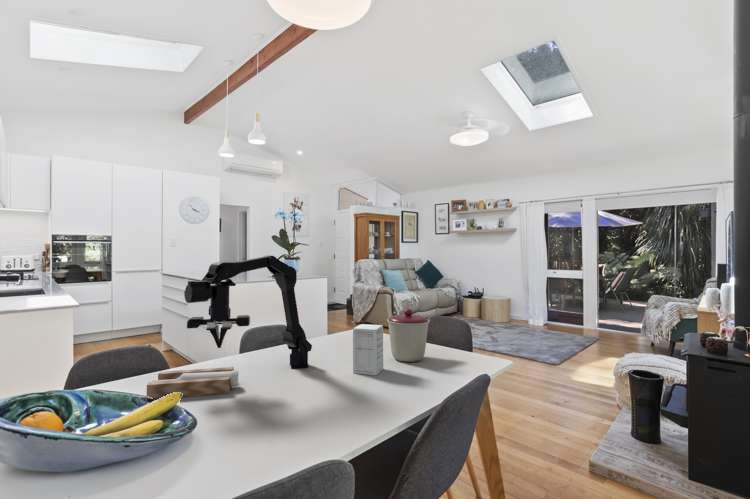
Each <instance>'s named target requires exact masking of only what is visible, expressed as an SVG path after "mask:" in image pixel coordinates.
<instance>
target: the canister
mask: <svg viewBox="0 0 750 499" xmlns="http://www.w3.org/2000/svg"><path fill="white" fill-rule="evenodd" d="M403 313H404V314H403ZM403 313H402V314H393V315H392V316H390V317H389V318H387V319H386V322H388V331H389V341H390V350H391V354H392V357H393V358H394V360H396V361H398V362H404V363H415V362H420V361H422V359H424V357H425V353H426V345H427V340H428V339H427V338H428V330H429V329H428V328H429V323H430V322H431V320H430V319H429V318H427V317H426V316H424V315H420V314H413V310H412V309H411V308H406V309H404V312H403Z"/></svg>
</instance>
